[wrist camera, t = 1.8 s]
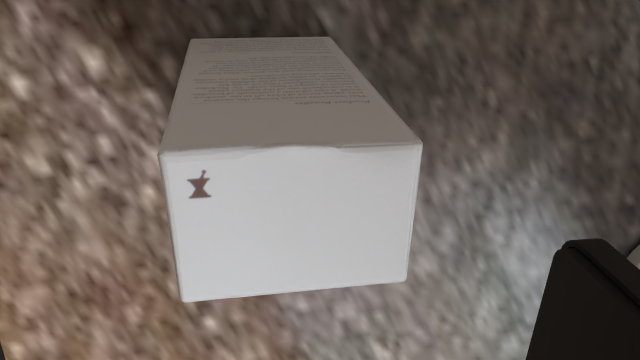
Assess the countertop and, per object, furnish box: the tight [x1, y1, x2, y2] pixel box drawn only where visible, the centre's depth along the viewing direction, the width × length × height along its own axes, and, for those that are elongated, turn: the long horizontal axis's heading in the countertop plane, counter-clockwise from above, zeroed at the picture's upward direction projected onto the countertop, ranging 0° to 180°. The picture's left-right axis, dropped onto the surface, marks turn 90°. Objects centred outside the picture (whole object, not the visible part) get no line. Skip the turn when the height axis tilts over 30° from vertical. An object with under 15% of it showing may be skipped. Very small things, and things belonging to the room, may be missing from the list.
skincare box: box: [157, 37, 423, 302], centre depth 18 cm, size 6×4×12 cm
